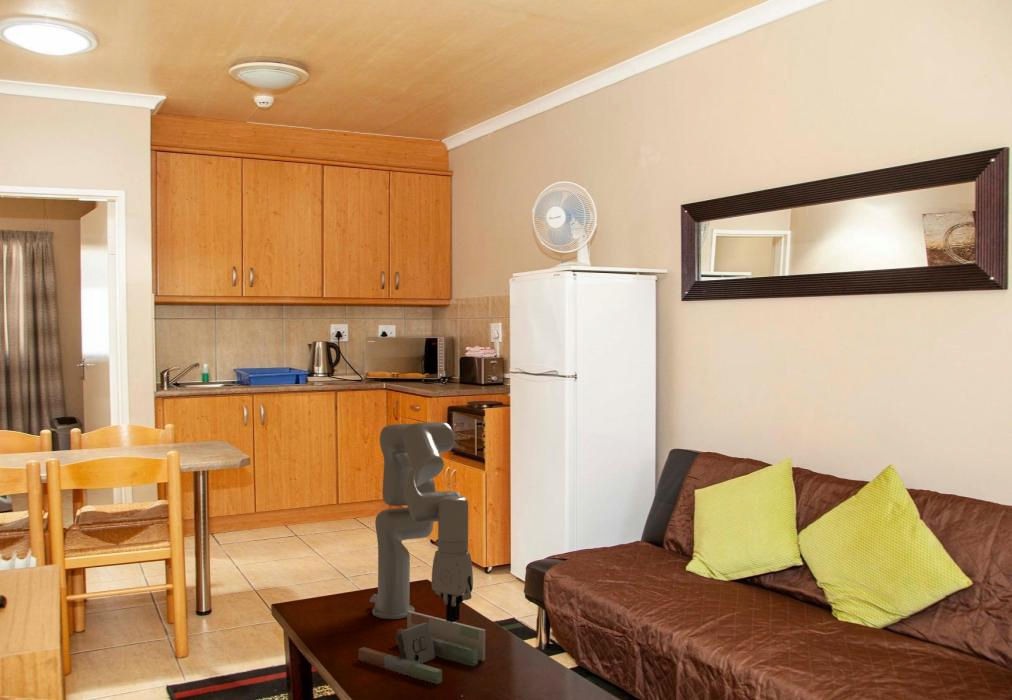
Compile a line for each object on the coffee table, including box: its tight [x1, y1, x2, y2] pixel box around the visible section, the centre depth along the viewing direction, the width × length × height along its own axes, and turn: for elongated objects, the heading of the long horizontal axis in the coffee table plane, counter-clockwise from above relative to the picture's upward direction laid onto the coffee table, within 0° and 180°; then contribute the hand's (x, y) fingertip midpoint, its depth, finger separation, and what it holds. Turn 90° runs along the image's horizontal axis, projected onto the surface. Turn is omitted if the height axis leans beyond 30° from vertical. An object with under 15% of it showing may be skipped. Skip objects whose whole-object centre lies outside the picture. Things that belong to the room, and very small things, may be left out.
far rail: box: [395, 627, 479, 667], centre depth 228 cm, size 26×2×4 cm, turn 55°
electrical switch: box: [396, 623, 436, 664], centre depth 223 cm, size 9×5×9 cm, turn 141°
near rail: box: [357, 646, 443, 685], centre depth 216 cm, size 26×2×3 cm, turn 55°
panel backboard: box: [406, 611, 486, 662], centre depth 231 cm, size 26×1×8 cm, turn 55°
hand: (452, 620), depth 215 cm, fingers closed
